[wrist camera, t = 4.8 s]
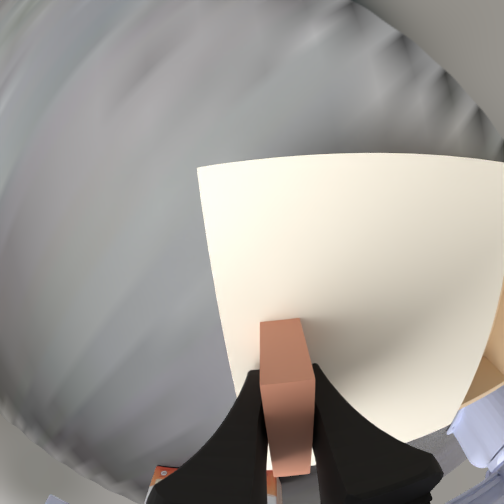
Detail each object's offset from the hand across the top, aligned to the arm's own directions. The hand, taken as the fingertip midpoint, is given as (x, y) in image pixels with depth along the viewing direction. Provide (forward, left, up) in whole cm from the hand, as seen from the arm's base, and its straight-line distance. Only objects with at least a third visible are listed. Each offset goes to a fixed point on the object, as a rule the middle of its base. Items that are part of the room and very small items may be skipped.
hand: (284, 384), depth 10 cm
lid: (0, -5, -1) cm, 5 cm away
